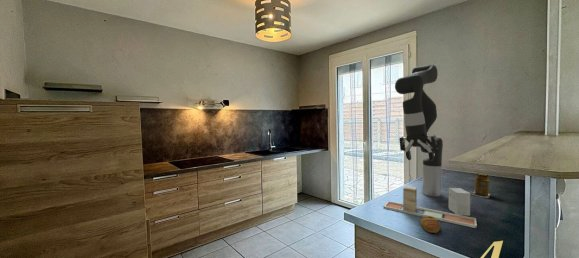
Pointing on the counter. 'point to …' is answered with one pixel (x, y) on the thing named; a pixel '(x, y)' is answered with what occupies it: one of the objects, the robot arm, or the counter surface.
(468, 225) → the rail channel
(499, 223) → the counter surface
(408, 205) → the beech block
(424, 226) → the pastry
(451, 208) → the small box
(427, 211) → the pad
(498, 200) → the counter surface
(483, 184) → the condiment
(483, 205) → the counter surface
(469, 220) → the pads
